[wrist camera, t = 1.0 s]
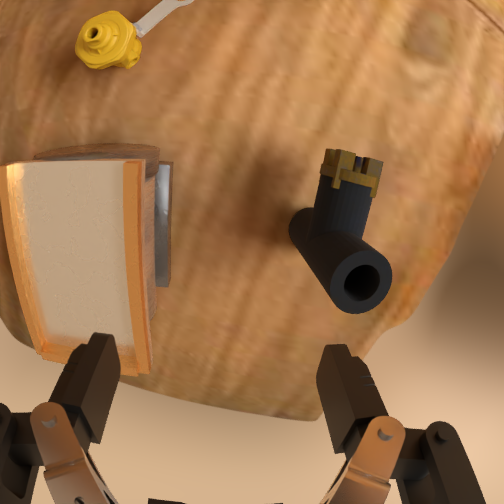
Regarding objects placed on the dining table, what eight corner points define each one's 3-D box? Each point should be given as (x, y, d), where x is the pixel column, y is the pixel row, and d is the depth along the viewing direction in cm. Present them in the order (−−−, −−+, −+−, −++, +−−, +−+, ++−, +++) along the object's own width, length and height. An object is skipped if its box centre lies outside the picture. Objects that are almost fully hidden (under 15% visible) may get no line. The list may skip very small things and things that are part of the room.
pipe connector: (305, 146, 33) (361, 149, 19) (349, 157, 34) (425, 170, 20) (283, 246, 36) (319, 310, 22) (326, 253, 37) (381, 316, 23)
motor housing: (73, 143, 30) (-6, 168, 17) (174, 143, 31) (135, 164, 18) (83, 284, 37) (34, 357, 24) (170, 292, 39) (148, 377, 25)
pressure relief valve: (97, 55, 26) (53, 39, 17) (180, -18, 24) (163, -60, 14) (127, 85, 28) (89, 76, 19) (213, 10, 26) (207, -28, 16)
